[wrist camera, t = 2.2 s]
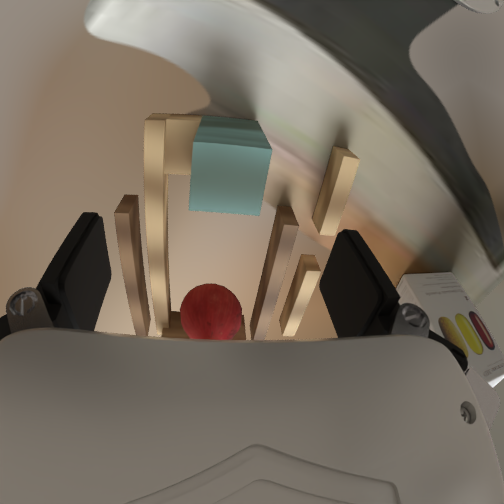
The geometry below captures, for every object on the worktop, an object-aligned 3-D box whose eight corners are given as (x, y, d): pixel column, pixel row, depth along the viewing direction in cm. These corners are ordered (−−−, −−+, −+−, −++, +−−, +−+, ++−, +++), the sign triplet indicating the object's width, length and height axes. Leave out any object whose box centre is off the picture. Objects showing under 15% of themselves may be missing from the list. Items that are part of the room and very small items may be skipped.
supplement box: (452, 270, 32) (514, 369, 19) (425, 315, 38) (470, 407, 25) (401, 273, 31) (465, 394, 18) (375, 322, 37) (417, 430, 24)
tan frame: (152, 113, 18) (122, 139, 13) (282, 124, 20) (307, 154, 14) (159, 317, 32) (152, 370, 26) (242, 322, 33) (246, 374, 28)
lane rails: (124, 194, 22) (114, 212, 20) (291, 206, 25) (299, 225, 22) (140, 318, 32) (136, 338, 30) (259, 324, 34) (262, 345, 32)
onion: (249, 276, 29) (257, 342, 23) (225, 311, 32) (227, 373, 26) (195, 258, 27) (189, 325, 21) (175, 296, 30) (168, 360, 24)
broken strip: (333, 146, 21) (343, 156, 20) (348, 149, 22) (360, 159, 20) (279, 320, 34) (282, 336, 32) (290, 320, 34) (294, 336, 32)
